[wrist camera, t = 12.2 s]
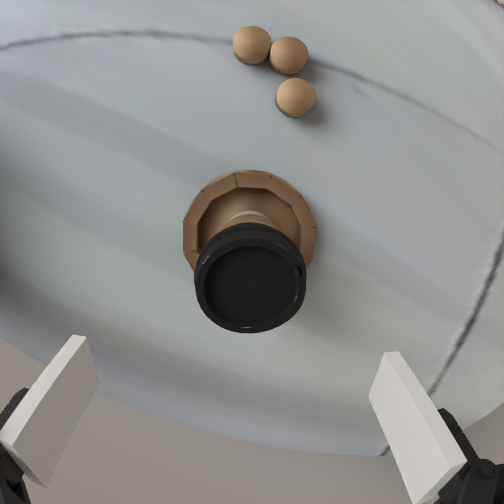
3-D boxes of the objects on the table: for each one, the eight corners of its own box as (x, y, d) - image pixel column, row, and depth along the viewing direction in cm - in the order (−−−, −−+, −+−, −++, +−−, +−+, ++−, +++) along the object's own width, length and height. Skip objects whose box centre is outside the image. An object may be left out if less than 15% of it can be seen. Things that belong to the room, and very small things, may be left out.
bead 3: (274, 115, 31) (276, 111, 29) (276, 82, 30) (278, 76, 27) (309, 118, 32) (314, 115, 29) (310, 86, 30) (316, 80, 27)
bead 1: (234, 65, 30) (232, 57, 27) (234, 36, 28) (233, 26, 25) (269, 65, 30) (271, 57, 27) (268, 35, 28) (270, 26, 25)
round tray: (185, 289, 38) (182, 297, 35) (186, 167, 33) (182, 168, 31) (304, 295, 38) (307, 304, 36) (318, 175, 33) (323, 176, 31)
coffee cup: (297, 252, 36) (327, 315, 21) (232, 281, 37) (223, 356, 22) (268, 187, 33) (283, 210, 19) (200, 218, 34) (167, 263, 20)
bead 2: (268, 74, 30) (269, 67, 27) (269, 44, 29) (271, 35, 26) (303, 77, 30) (308, 70, 27) (303, 47, 29) (308, 38, 26)
